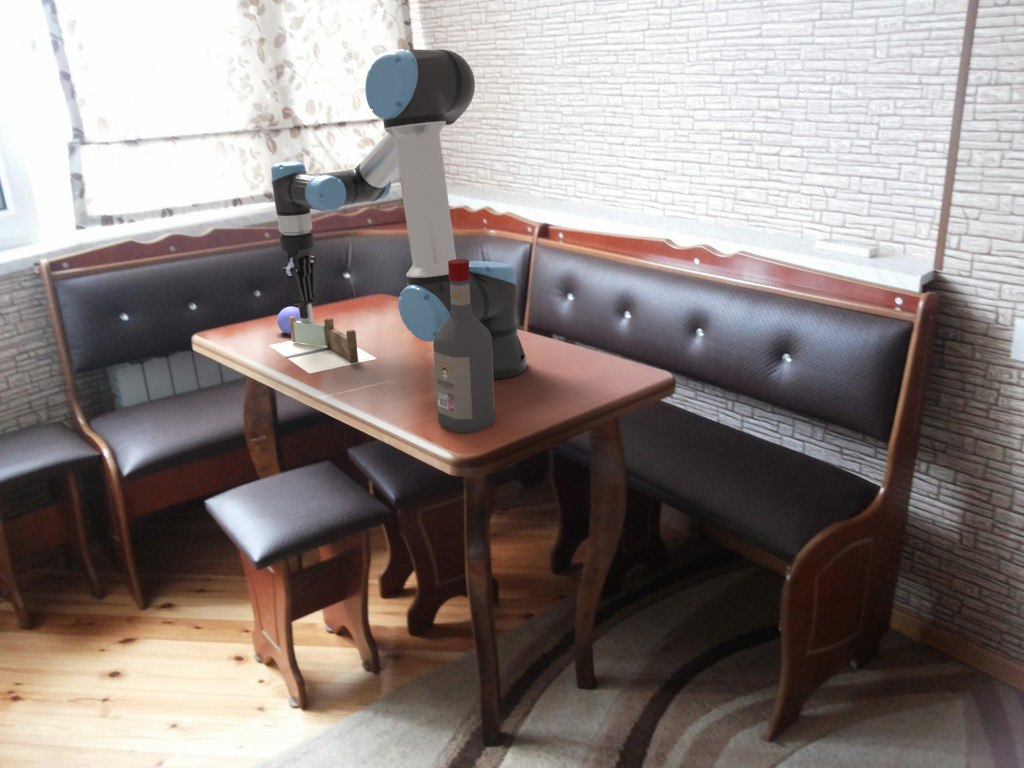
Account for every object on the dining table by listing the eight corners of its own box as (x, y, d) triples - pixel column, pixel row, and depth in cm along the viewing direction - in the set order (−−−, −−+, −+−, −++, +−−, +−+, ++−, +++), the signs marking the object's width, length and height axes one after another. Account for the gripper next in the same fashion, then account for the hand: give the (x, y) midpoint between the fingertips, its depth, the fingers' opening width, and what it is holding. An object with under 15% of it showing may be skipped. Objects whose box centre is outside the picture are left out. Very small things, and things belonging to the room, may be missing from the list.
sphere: (311, 330, 220) (308, 303, 218) (302, 338, 214) (299, 310, 211) (284, 330, 221) (281, 303, 218) (274, 338, 214) (271, 310, 212)
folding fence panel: (329, 344, 205) (326, 320, 203) (325, 346, 203) (322, 321, 201) (295, 339, 209) (292, 315, 207) (290, 341, 208) (287, 317, 206)
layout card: (377, 360, 195) (377, 358, 195) (309, 375, 187) (309, 373, 187) (331, 334, 216) (331, 332, 216) (268, 346, 208) (268, 344, 207)
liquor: (465, 437, 153) (456, 269, 143) (431, 424, 159) (420, 262, 149) (502, 422, 159) (496, 260, 149) (468, 410, 165) (460, 253, 155)
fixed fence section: (359, 361, 194) (356, 331, 191) (351, 363, 192) (348, 333, 190) (334, 346, 205) (331, 317, 203) (326, 348, 204) (322, 319, 201)
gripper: (293, 226, 206) (305, 322, 214) (267, 237, 194) (281, 338, 202) (322, 226, 204) (333, 322, 212) (298, 237, 192) (311, 339, 201)
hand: (308, 330), depth 207 cm, fingers closed
